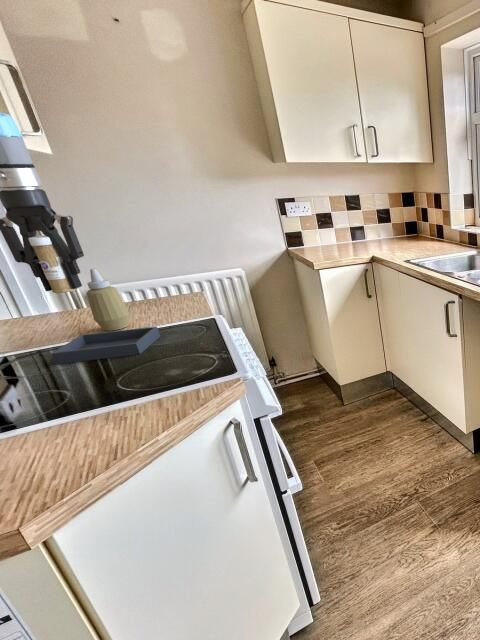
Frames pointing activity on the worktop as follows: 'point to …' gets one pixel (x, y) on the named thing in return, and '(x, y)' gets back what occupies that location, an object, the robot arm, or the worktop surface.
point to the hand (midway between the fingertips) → (64, 288)
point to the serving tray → (106, 345)
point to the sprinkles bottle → (51, 264)
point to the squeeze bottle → (106, 304)
